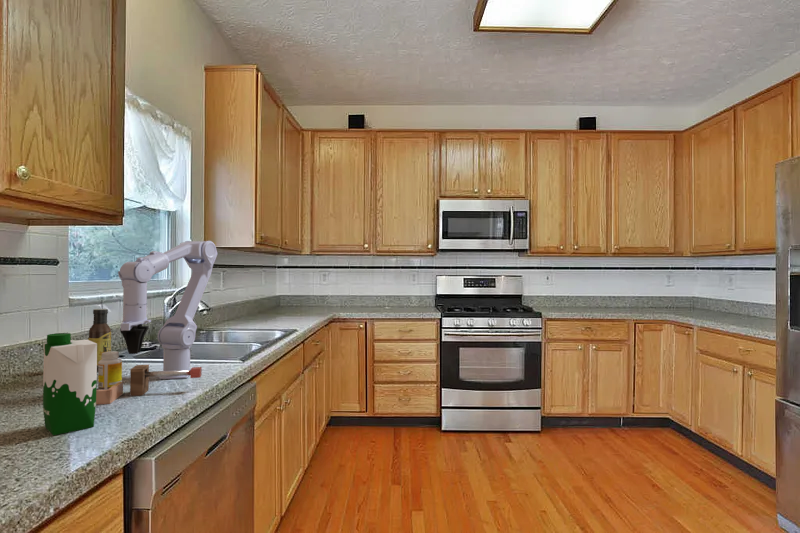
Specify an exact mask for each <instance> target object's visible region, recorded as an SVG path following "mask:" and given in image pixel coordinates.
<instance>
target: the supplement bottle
mask: <svg viewBox="0 0 800 533" xmlns="http://www.w3.org/2000/svg"><path fill="white" fill-rule="evenodd" d="M119 354H120V353H119V351H112V350H111V351H110V352H104V353H102V360H100V361H99V362H98V371H97V374H98V375H97V390H108V389H109V388H111V387H112V386H113V385H115V384H116V383H118V382H123V360H122V358H120V355H119Z"/></svg>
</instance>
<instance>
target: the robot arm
mask: <svg viewBox="0 0 800 533" xmlns="http://www.w3.org/2000/svg"><path fill="white" fill-rule="evenodd" d="M217 250H218V249H217V246H216V244H215V243H214V242H213V241H212V240H203V241H202V240H200V241H199V240H194V241H193V240H186V241H184V242H180V243H179V244H178V245H176V246H174V247H172V248H170V249H168V250H166V251H164V252H161V251H157V250H153V251H150V252H149V254H148V255H145V256H143V257H142V256H139V257H137V258H136V260H135V261H126V262H124V263H123V264H122V265H121V266H120V268H119V271H118V272H117V275H118V277H119V279H120V280H121V286H122V289H123V290H122V291H123V294H122V296H123V297H122V300H123V304H122V306H123V307H122V308H123V310H122V321H121V323H120V330H119V331H120V333H121V335H122V336H123V338H124V341H125V345H126V349H127V352H128V354H129V355H133V354H135V355H136V354H138V353H141V349H142V346H143V341H144V339H145V336H146V334H147V332H148V330H149V328H150V327H149V325H147V324H149V323H151V322H152V319H148V315H147V313H148V312H147V311H148V310H147V306H148V282H150V281H151V279H152V278H153V276H154V275H156V274H158V273H161V272H162V271H164V270H166V269H168V267H169V264H170V263H172V262H175V261H177V260H180V259H182V258H183V259H184V261H185V262H186V264H187V266H188V267H189V268H190V270H192V273H191V275H190V278H189V280H188V283H187V285H186V287H185V289H184V292H183V294H182V297H181V299H180V302H179V304H178V307H177V308H176V311H175V314H174V315H172V316H171V317H169V318H167V319H166V320H165V323H164V324H163V325H162V327H161V328H160V329H159V330H158V332H157V342H158V343H159V344H160V345H161V348H162V349H163V359H162V360H163V368H162V369H163V370H162V371H180V370H191V350H190V348H192V345H193V344H194V342H195V341H196V332H197V329H198V326H197V324H196V323H195V321H194V317H195V315H196V312H197V310H198V307H199V305H200V302H201V300H202V298H203V295H204V293H205V291H206V287H207V286H208V282H209V280H210V278H211V275H212V272H213V267H214V264H215V261H216V259H217V256H218V254H219V253H218V251H217ZM189 377H190V375H185V376H159V377H158V379H159V380H169V379H187V378H189Z"/></svg>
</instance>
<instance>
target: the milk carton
mask: <svg viewBox="0 0 800 533" xmlns="http://www.w3.org/2000/svg"><path fill="white" fill-rule="evenodd" d="M71 335H72V334H71V333H70V332H60V333H59V332H58V333H57V332H56V333H48V334H46V342H44V343H43V368H42V369H43V371H42V372H43V375H42V377H43V379H42V380H43V381H42V384H43V387H42V410H43V420H44V427H45V428H46V430H47V431H48V432H49V433H50V434H51V435H52V436H57V435H62V434H66V433H72V432H76V431H80V430H81V431H82V430H85V429H91V428H94V427H95V426H94V425H95V417H96V408H97V404H96V390H98V375H97V374H98V371H97V343H94V342H92V341H89V340H88V339H77V340H74V339H72V338H71V337H72V336H71Z"/></svg>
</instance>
